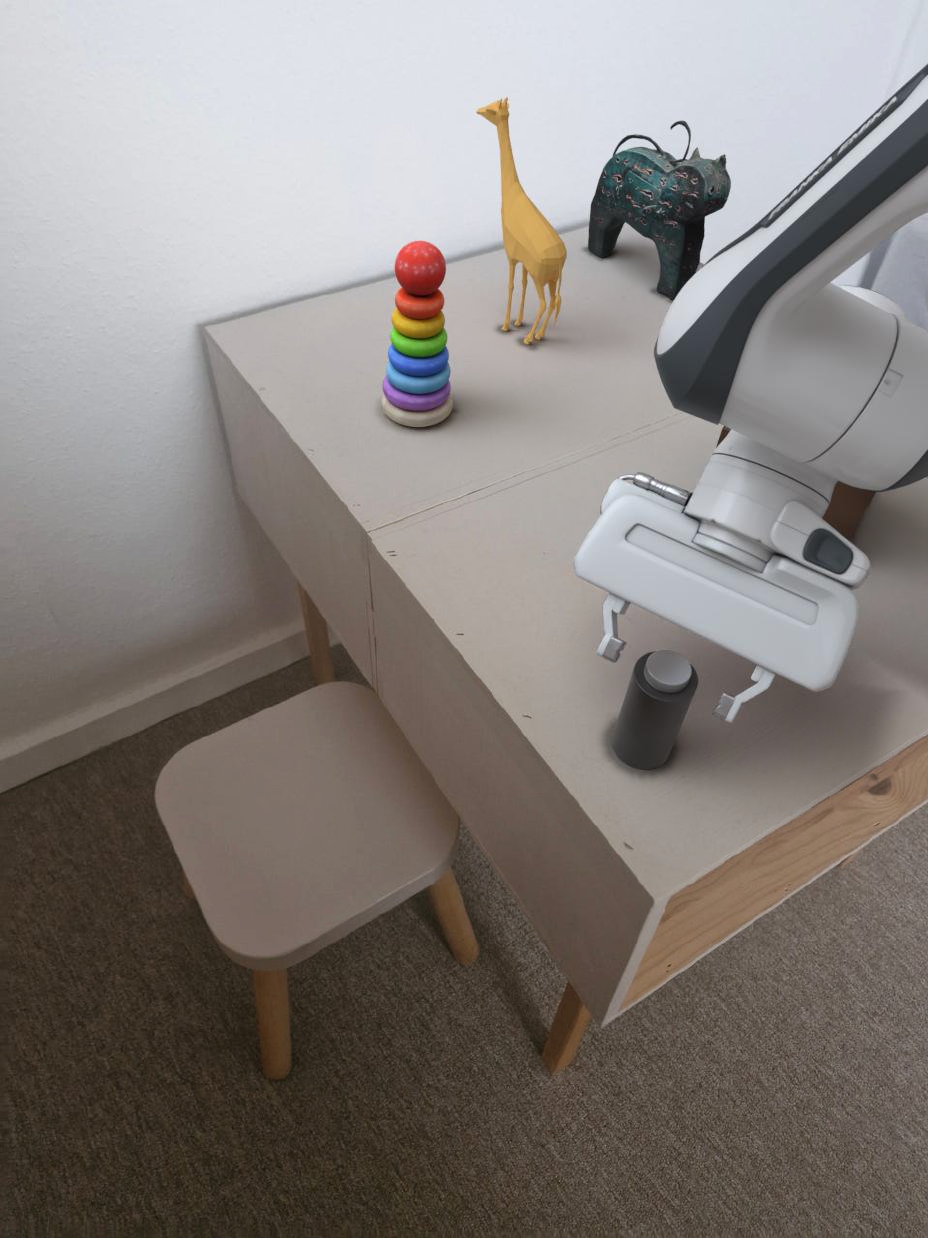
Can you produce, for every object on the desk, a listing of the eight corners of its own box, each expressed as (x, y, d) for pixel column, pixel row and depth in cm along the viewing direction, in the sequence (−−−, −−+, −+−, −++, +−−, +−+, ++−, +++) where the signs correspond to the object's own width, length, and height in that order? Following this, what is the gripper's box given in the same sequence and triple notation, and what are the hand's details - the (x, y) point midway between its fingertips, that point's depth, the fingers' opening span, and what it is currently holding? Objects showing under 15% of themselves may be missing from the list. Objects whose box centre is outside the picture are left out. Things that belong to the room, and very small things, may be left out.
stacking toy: (451, 432, 93) (458, 266, 79) (378, 429, 93) (372, 262, 79) (453, 391, 98) (460, 229, 84) (384, 388, 98) (379, 224, 84)
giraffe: (456, 304, 111) (465, 89, 93) (482, 294, 113) (495, 83, 95) (540, 360, 103) (568, 137, 85) (566, 349, 105) (599, 129, 86)
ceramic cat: (705, 297, 115) (748, 138, 100) (671, 310, 113) (711, 149, 98) (605, 240, 126) (631, 88, 111) (573, 251, 123) (595, 96, 108)
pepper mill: (678, 737, 68) (711, 659, 60) (656, 779, 65) (688, 703, 57) (625, 711, 69) (651, 632, 62) (602, 752, 66) (626, 674, 59)
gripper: (612, 453, 61) (530, 624, 63) (895, 573, 54) (793, 760, 56) (628, 471, 67) (552, 626, 69) (885, 580, 60) (793, 750, 62)
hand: (662, 688), depth 63 cm, fingers open, 8 cm apart
